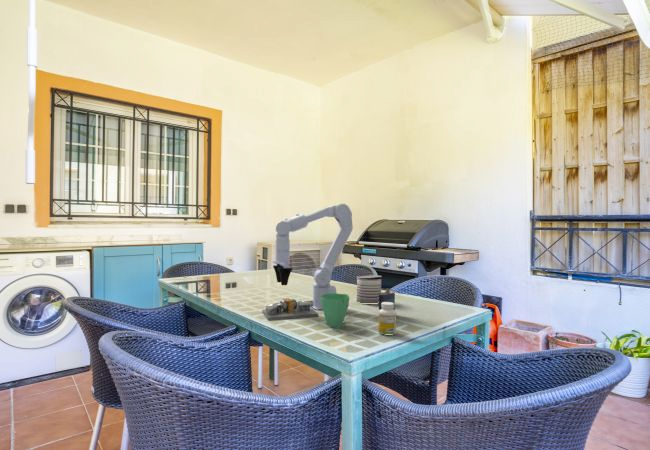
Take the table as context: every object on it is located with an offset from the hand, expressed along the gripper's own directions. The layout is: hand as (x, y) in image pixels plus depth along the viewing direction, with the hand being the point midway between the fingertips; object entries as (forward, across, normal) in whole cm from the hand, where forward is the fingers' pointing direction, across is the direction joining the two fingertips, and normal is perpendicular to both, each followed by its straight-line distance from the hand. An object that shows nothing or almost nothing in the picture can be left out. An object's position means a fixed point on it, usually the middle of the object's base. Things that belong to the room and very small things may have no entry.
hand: (282, 283), depth 148 cm
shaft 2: (+10, +10, +7) cm, 16 cm away
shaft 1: (+10, +12, -6) cm, 17 cm away
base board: (+10, +12, 0) cm, 15 cm away
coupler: (+9, +10, 0) cm, 13 cm away
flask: (+10, +25, +35) cm, 44 cm away
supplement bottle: (+10, +44, +24) cm, 51 cm away
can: (+10, 0, +40) cm, 41 cm away
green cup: (+10, +29, +13) cm, 33 cm away
